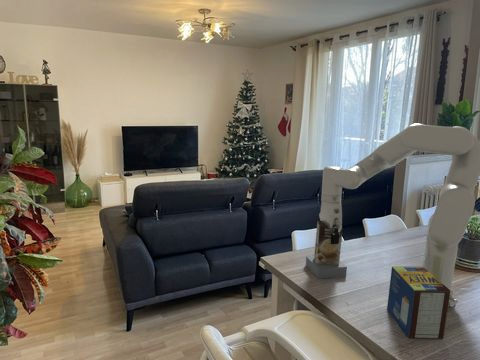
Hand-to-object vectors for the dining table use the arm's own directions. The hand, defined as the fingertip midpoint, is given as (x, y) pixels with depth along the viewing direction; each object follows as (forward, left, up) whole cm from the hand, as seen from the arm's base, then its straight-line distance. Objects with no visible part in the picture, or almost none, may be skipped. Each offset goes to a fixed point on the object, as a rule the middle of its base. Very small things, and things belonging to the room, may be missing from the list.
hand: (328, 239), depth 139 cm
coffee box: (0, 0, -10) cm, 10 cm away
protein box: (-38, -11, -14) cm, 42 cm away
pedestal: (0, 0, -14) cm, 14 cm away
